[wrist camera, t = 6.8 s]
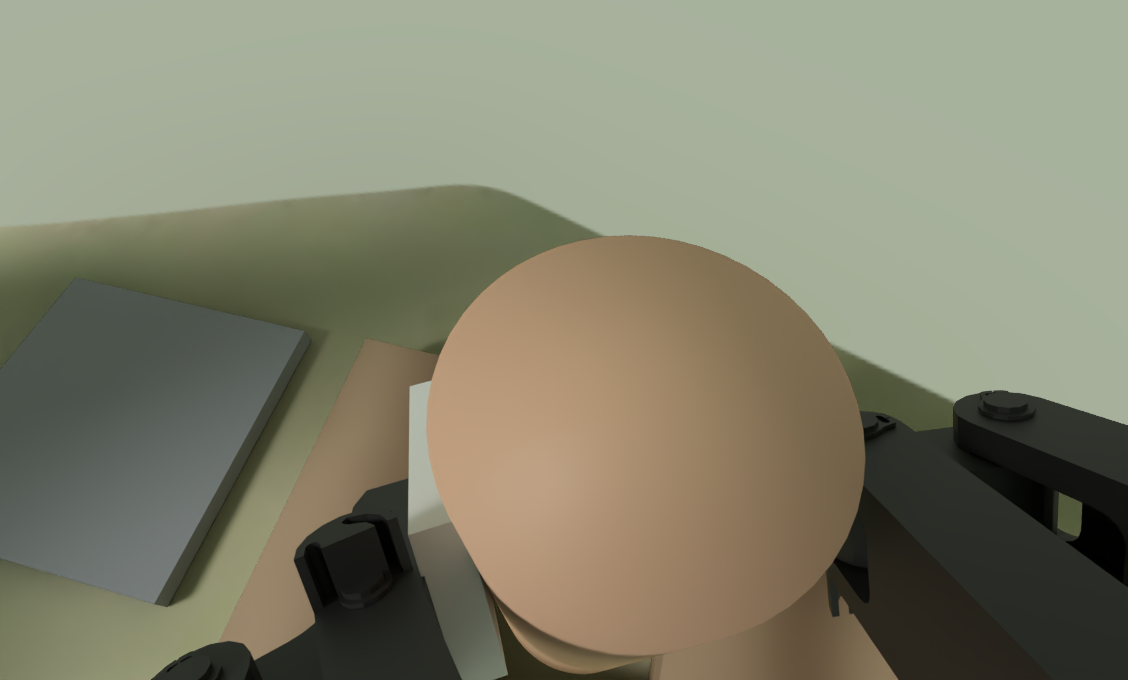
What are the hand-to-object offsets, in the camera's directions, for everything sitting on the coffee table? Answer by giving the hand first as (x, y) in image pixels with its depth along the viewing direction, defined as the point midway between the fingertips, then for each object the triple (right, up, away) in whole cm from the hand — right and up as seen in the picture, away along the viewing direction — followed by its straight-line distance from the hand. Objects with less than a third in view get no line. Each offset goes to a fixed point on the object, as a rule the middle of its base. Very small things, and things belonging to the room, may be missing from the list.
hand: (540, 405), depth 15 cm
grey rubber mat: (-17, -2, +9) cm, 19 cm away
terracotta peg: (+1, -5, +2) cm, 5 cm away
